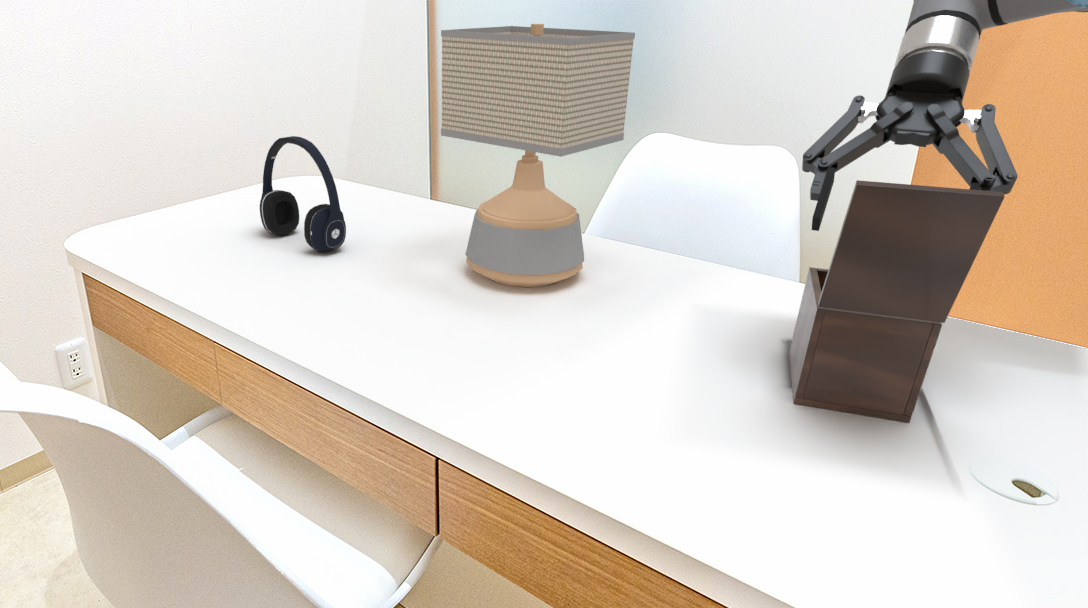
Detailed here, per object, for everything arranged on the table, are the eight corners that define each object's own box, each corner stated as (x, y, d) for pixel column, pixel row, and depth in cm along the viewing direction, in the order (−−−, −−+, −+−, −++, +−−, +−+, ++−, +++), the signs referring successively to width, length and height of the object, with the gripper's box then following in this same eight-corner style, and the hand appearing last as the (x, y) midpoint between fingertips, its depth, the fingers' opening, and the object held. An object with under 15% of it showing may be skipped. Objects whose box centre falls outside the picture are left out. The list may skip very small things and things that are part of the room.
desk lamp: (613, 273, 121) (641, 24, 104) (544, 307, 108) (563, 30, 92) (507, 244, 134) (517, 19, 117) (434, 271, 121) (433, 23, 104)
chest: (788, 353, 95) (809, 267, 90) (890, 368, 92) (918, 279, 87) (793, 403, 84) (817, 308, 79) (909, 423, 81) (942, 324, 75)
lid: (856, 180, 69) (856, 184, 68) (1003, 191, 65) (1005, 196, 65) (818, 302, 79) (818, 306, 78) (943, 318, 75) (944, 323, 75)
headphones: (354, 250, 130) (348, 143, 122) (322, 259, 126) (314, 149, 118) (287, 226, 143) (277, 127, 134) (255, 234, 138) (244, 132, 130)
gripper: (1056, 101, 82) (1016, 271, 77) (810, 86, 93) (762, 233, 89) (1080, 52, 75) (1038, 234, 71) (813, 43, 87) (761, 198, 82)
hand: (884, 234), depth 80 cm, fingers open, 13 cm apart
